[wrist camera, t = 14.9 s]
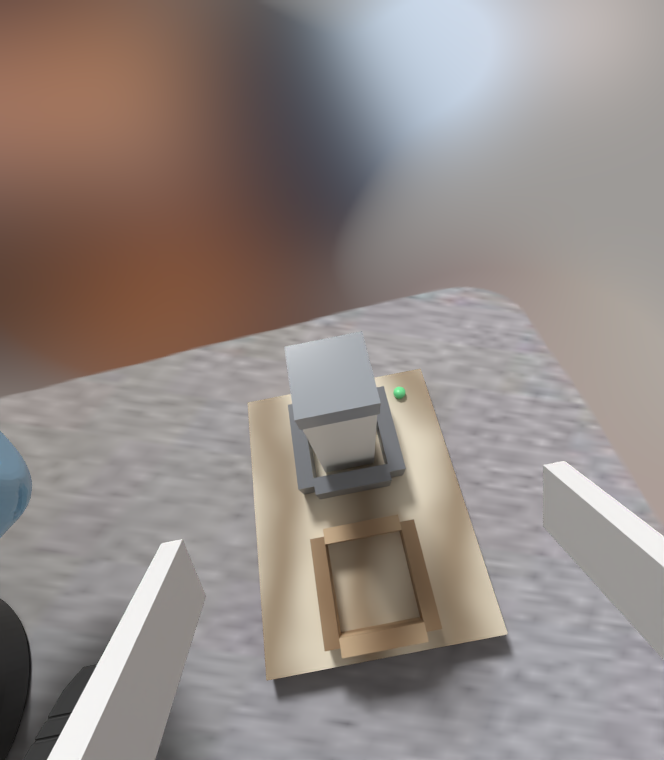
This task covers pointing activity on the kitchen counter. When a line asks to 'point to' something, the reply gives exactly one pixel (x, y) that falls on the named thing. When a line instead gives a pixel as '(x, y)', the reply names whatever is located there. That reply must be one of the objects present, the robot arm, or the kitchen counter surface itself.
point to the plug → (335, 399)
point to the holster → (385, 633)
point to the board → (364, 541)
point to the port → (354, 478)
